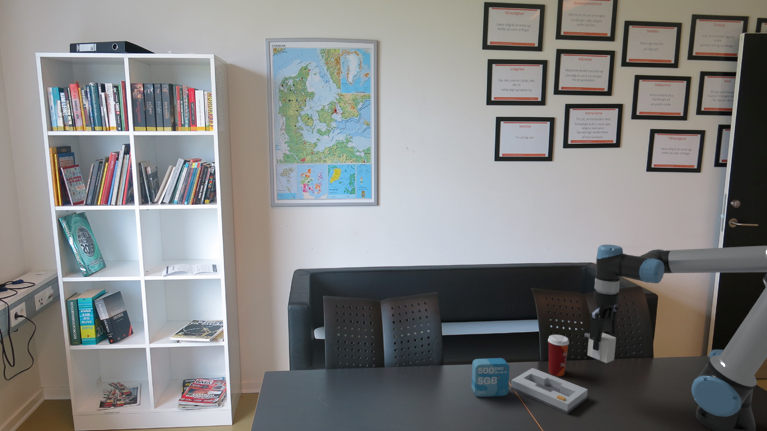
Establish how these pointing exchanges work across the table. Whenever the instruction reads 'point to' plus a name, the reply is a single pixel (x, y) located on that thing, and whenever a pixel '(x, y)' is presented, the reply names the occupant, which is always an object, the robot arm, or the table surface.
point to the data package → (490, 377)
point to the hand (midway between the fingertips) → (600, 356)
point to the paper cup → (557, 354)
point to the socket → (549, 390)
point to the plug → (604, 347)
